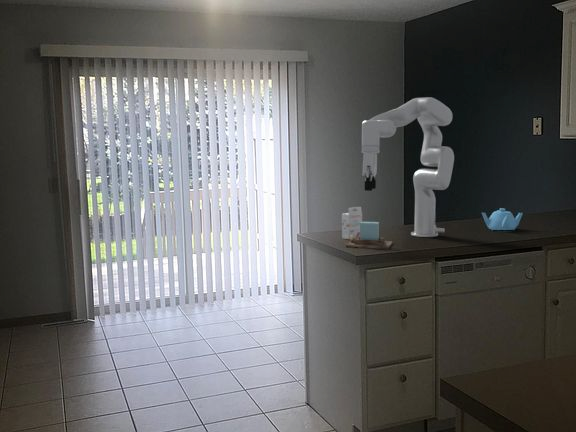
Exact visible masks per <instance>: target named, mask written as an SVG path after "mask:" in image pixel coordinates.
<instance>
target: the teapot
mask: <svg viewBox="0 0 576 432" xmlns="http://www.w3.org/2000/svg"><path fill="white" fill-rule="evenodd" d="M481 215H482V217H483V219H484V223H485V225H486V226H487V228H488V229H489V230H490V229H491V231H493V230H513V231H515V230H516V229H517V227H518V226H519V224H520V222H521V218H522V216H523V212H518V214H517V215H516V216H514V215H513V213H512V212H511V211H506V208H503V207H502V208H501V207H500V208H499V210H496V211H493V212H492V213H491V215H490V216H489V217H488V216H487V214H486V212H481Z"/></svg>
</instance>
